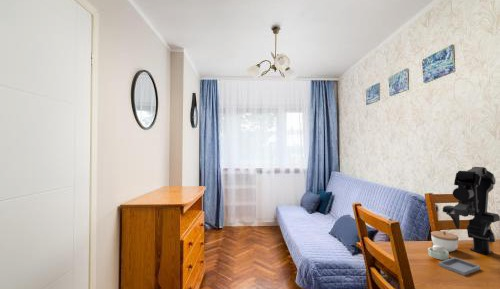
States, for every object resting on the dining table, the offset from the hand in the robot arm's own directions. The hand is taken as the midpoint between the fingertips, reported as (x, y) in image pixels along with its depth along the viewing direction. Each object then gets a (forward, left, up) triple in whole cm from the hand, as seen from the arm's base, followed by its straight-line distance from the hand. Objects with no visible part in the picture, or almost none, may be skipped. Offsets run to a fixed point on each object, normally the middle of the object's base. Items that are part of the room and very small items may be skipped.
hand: (470, 231), depth 106 cm
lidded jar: (-2, -12, -13) cm, 18 cm away
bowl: (+10, -8, -13) cm, 18 cm away
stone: (+10, -8, -12) cm, 18 cm away
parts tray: (+14, +2, -13) cm, 19 cm away
